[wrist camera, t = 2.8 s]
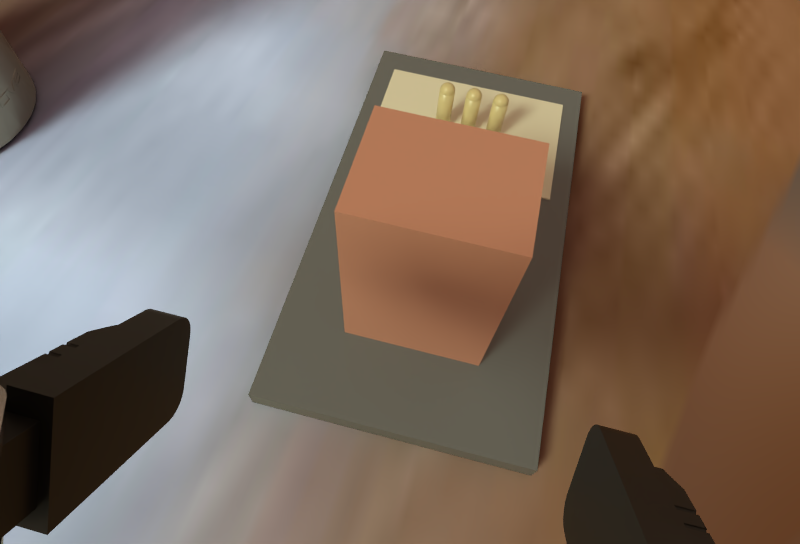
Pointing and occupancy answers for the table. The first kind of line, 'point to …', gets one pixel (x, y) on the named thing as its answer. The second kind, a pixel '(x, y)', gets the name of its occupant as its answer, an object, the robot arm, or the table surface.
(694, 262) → the table surface
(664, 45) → the table surface
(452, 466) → the table surface
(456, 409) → the pin board
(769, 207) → the table surface
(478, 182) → the block
